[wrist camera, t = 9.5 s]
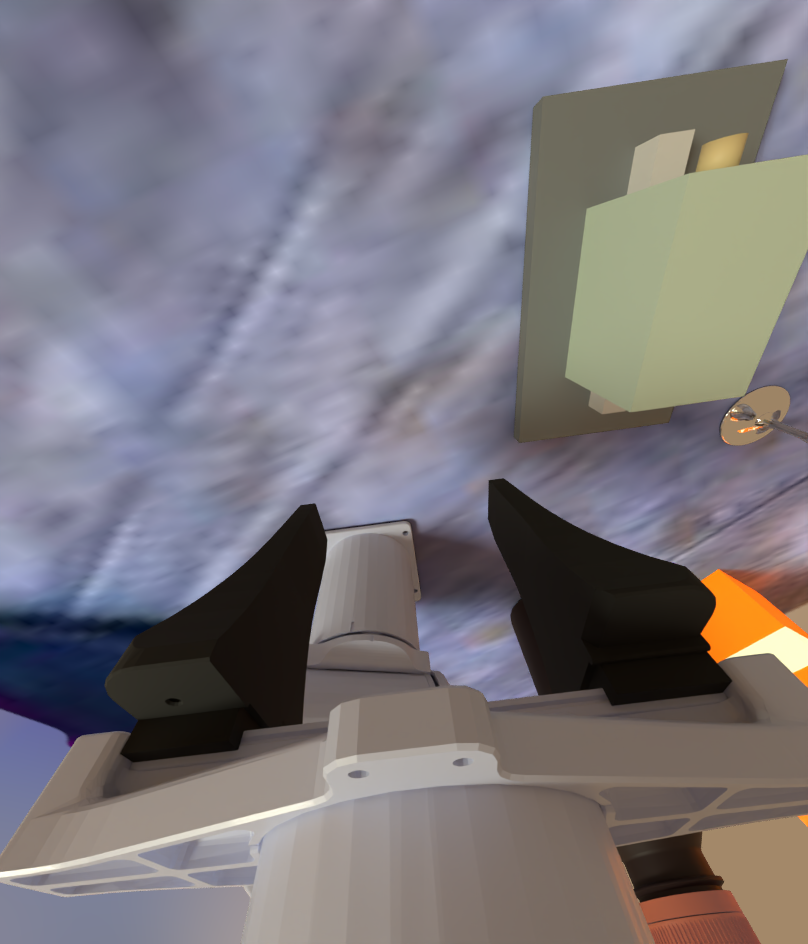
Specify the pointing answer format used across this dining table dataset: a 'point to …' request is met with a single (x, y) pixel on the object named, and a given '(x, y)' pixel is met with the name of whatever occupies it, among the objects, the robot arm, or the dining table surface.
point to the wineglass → (758, 417)
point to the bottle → (663, 861)
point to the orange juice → (752, 628)
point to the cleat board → (601, 180)
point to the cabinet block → (688, 280)
